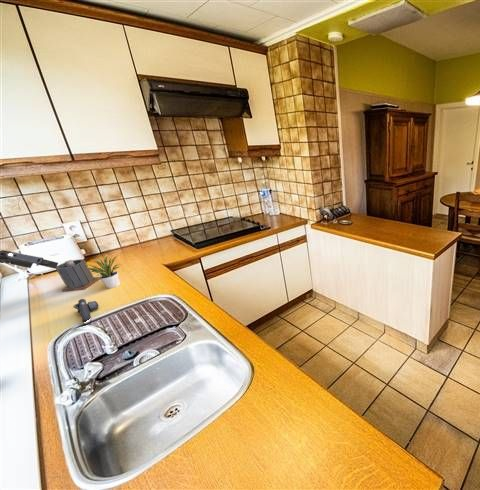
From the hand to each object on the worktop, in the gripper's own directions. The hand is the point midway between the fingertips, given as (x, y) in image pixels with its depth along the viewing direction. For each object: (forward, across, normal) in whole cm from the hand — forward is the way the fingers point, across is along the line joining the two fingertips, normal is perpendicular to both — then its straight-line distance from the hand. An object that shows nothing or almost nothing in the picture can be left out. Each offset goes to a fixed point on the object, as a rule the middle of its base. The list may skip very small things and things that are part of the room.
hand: (43, 265), depth 122 cm
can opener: (+1, +32, -22) cm, 39 cm away
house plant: (+19, +19, -4) cm, 27 cm away
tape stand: (+18, +1, -6) cm, 18 cm away
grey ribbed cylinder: (+16, +1, -4) cm, 17 cm away
